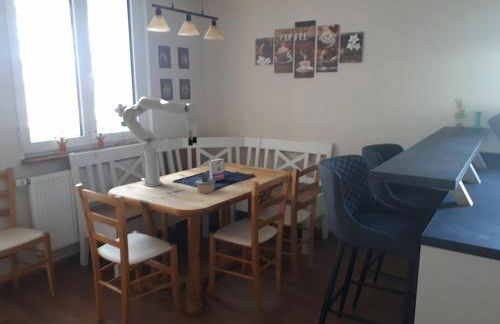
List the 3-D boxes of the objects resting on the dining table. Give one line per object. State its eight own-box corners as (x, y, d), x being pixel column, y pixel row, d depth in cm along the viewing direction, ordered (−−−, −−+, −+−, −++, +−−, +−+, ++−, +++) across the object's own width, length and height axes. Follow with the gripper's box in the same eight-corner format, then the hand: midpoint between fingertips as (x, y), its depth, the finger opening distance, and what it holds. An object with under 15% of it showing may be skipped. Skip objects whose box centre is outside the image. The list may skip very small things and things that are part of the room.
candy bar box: (221, 178, 306) (220, 158, 302) (225, 180, 302) (224, 159, 298) (209, 181, 299) (208, 160, 295) (212, 182, 295) (212, 161, 291)
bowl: (195, 192, 270) (195, 184, 269) (200, 188, 281) (199, 180, 279) (211, 193, 268) (211, 184, 267) (215, 188, 279) (214, 180, 278)
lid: (192, 184, 267) (192, 174, 266) (198, 179, 281) (197, 170, 280) (212, 185, 265) (212, 175, 264) (217, 179, 279) (217, 170, 278)
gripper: (190, 119, 291) (191, 142, 294) (183, 121, 274) (183, 146, 278) (200, 119, 290) (201, 142, 293) (193, 122, 273) (194, 146, 277)
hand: (192, 144), depth 285 cm, fingers open, 9 cm apart
